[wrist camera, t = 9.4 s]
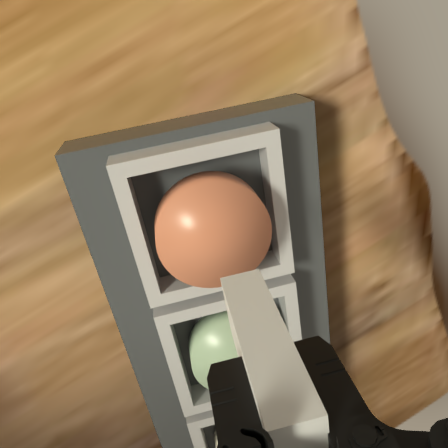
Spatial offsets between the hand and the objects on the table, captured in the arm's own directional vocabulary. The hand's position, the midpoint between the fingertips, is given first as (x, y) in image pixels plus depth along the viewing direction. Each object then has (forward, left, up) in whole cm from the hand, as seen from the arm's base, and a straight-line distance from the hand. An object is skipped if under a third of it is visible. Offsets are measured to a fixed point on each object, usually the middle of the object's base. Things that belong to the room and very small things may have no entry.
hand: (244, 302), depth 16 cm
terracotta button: (0, 0, -7) cm, 7 cm away
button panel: (0, -10, -12) cm, 15 cm away
